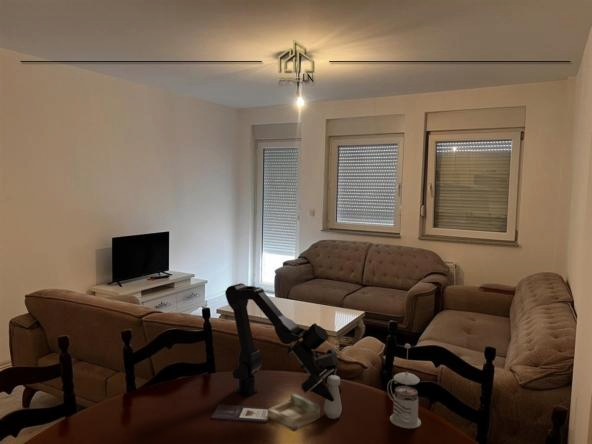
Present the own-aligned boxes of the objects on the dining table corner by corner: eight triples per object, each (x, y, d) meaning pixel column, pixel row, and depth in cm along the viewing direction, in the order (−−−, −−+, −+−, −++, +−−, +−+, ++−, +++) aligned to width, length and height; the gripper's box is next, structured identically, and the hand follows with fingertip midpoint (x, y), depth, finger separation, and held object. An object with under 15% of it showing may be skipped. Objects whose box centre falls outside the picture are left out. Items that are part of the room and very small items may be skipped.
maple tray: (267, 416, 138) (267, 404, 138) (293, 404, 147) (294, 393, 146) (293, 431, 130) (293, 418, 130) (319, 417, 138) (320, 405, 138)
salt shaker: (329, 421, 136) (330, 381, 135) (320, 413, 141) (321, 375, 140) (345, 417, 138) (346, 378, 138) (335, 410, 144) (336, 372, 143)
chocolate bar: (218, 404, 145) (271, 407, 143) (218, 407, 145) (271, 410, 143) (210, 417, 136) (266, 421, 134) (210, 420, 136) (266, 424, 134)
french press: (409, 431, 131) (412, 351, 130) (379, 417, 139) (381, 341, 138) (427, 421, 137) (429, 344, 136) (396, 407, 146) (399, 335, 145)
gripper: (310, 351, 132) (343, 394, 128) (334, 335, 149) (363, 373, 144) (288, 371, 136) (318, 414, 132) (313, 353, 153) (341, 391, 148)
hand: (337, 396), depth 139 cm, fingers open, 6 cm apart
